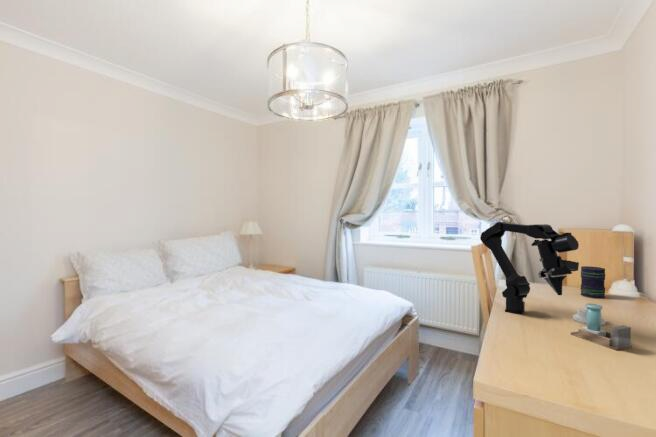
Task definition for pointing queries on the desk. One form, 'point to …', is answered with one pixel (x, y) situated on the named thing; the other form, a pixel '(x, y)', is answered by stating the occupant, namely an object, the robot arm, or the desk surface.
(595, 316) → the knob
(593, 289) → the storage jar
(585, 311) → the mechanical component
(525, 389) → the desk surface
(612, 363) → the desk surface
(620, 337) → the mount
